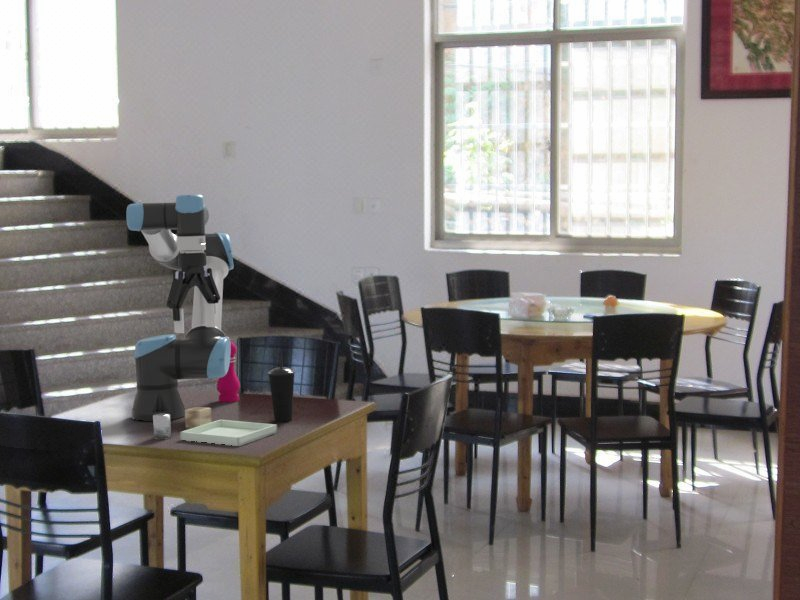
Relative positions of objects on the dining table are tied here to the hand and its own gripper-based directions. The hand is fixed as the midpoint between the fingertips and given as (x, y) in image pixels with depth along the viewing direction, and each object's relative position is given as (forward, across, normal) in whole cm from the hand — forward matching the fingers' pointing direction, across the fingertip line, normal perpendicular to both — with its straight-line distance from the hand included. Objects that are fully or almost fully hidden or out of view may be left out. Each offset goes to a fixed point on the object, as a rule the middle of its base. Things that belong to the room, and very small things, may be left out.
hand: (195, 330), depth 296 cm
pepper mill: (+27, +35, +16) cm, 47 cm away
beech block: (+27, 0, 0) cm, 27 cm away
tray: (+26, -8, -16) cm, 32 cm away
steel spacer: (+27, -15, 0) cm, 31 cm away
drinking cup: (+27, +16, -17) cm, 35 cm away
